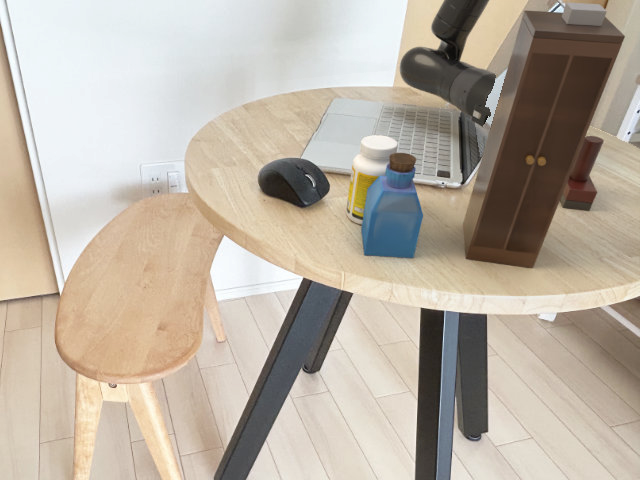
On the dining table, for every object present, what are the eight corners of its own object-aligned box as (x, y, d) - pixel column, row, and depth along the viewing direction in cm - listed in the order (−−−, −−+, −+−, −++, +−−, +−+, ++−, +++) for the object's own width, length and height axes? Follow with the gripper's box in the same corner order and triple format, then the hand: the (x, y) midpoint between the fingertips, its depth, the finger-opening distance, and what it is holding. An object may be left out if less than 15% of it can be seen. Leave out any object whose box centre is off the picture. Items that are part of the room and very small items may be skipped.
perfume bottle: (361, 229, 78) (374, 146, 70) (407, 232, 77) (425, 148, 70) (364, 255, 73) (378, 168, 65) (413, 258, 72) (433, 171, 65)
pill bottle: (399, 221, 79) (414, 146, 73) (362, 231, 77) (375, 155, 70) (372, 201, 84) (384, 129, 77) (337, 211, 82) (346, 137, 75)
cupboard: (463, 223, 79) (524, 10, 62) (524, 231, 78) (603, 14, 61) (466, 261, 72) (536, 31, 55) (533, 271, 70) (627, 37, 53)
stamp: (553, 183, 89) (575, 127, 83) (578, 185, 88) (602, 129, 82) (562, 207, 83) (586, 149, 77) (589, 210, 82) (615, 151, 76)
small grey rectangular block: (594, 19, 59) (599, 4, 58) (601, 26, 57) (607, 11, 56) (561, 17, 60) (566, 2, 59) (566, 24, 57) (571, 9, 56)
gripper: (453, 77, 93) (523, 111, 81) (523, 68, 97) (599, 99, 85) (443, 122, 98) (507, 160, 86) (510, 112, 102) (581, 147, 90)
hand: (553, 130), depth 86 cm, fingers open, 8 cm apart
